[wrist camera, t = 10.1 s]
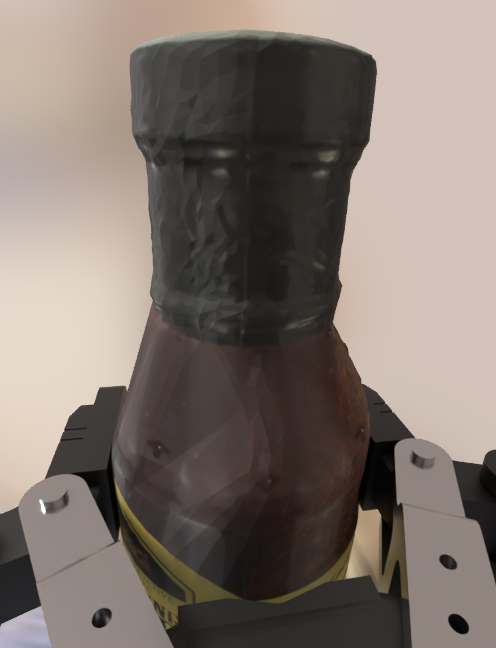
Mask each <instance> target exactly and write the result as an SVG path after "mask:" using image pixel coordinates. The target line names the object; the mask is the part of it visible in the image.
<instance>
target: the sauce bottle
mask: <svg viewBox="0 0 496 648" xmlns="http://www.w3.org/2000/svg"><path fill="white" fill-rule="evenodd" d="M376 75H377V69H376V61H375V60H374V59H373V58H372V55H370V54H368V53H366V52H364V51H361V50H359V49H357V48H355V47H352V46H349V45H346V44H342V43H339V42H336V41H333V40H330V39H325V38H319V37H314V36H309V35H302V34H294V33H285V32H273V31H260V30H230V31H210V32H194V33H187V34H180V35H173V36H166V37H162V38H159V39H155V40H152V41H149V42H146V43H143V44H140V45H137V47H136V48H135V49H134V50H133V51H132V53H131V55H130V78H131V94H132V98H131V115H132V132H133V136H134V139H135V141H136V143H137V145H138V148H139V149H140V150H141V152H142V153H143V155H144V157H145V160H146V167H147V175H148V194H149V215H150V221H151V239H152V252H153V275H152V282H151V289H150V295H151V297H152V299H153V303H152V306H151V309H150V313H149V317H148V320H147V324H146V327H145V331H144V335H143V338H142V342H141V345H140V349H139V352H138V356H137V360H136V363H135V367H134V371H133V374H132V377H131V381H130V385H129V388H128V391H127V394H126V397H125V400H124V403H123V406H122V409H121V412H120V415H119V418H118V421H117V424H116V427H115V430H114V433H113V440H112V447H111V458H110V462H111V470H112V477H113V483H114V489H115V495H116V502H117V508H118V515H119V522H120V529H121V535H122V542H123V546H124V548H125V550H126V552H127V554H128V556H129V558H130V560H131V562H132V564H133V566H134V568H135V570H136V572H137V574H138V576H139V578H140V580H141V582H142V584H143V587H144V589H145V591H146V593H147V595H148V597H149V599H150V601H151V603H152V605H153V607H154V609H155V611H156V613H157V615H158V617H159V619H160V621H161V623H162V625H163V627H164V629H165V630H167V629H169V628H171V627H173V626H175V625H177V624H178V606H182V605H188V604H194V603H200V602H206V601H213V600H219V599H225V598H232V599H241V600H251V601H260V602H269V603H283V602H286V601H288V600H290V599H292V598H294V597H296V596H298V595H300V594H302V593H305V592H307V591H309V590H311V589H313V588H315V587H317V586H319V585H321V584H323V583H325V582H330V581H337V580H343V579H345V578H346V573H347V569H348V564H349V560H350V555H351V550H352V546H353V541H354V536H355V532H356V527H357V522H358V512H359V501H358V492H359V487H360V484H361V479H362V475H363V473H364V469H365V463H366V457H367V452H368V446H369V443H370V442H369V438H370V422H369V419H370V414H369V411H368V403H367V399H366V394H365V391H364V389H363V386H362V384H361V378H360V376H359V374H358V372H357V370H356V368H355V366H354V364H353V361H352V360H351V358H350V357H349V353H348V348H347V346H346V344H345V343H343V341H342V340H341V338H340V336H339V333H338V331H337V329H336V328H335V326H334V324H333V319H334V314H335V310H336V306H337V303H338V300H339V297H340V293H341V288H342V284H341V282H340V280H339V275H338V271H339V264H340V256H341V247H342V243H343V236H344V231H345V222H346V214H347V205H348V196H349V192H350V179H351V176H352V173H353V170H354V168H355V166H356V165H357V163H358V161H359V160H360V158H361V156H362V152H363V150H364V148H365V147H366V145H367V144H368V142H369V138H370V127H371V119H372V111H373V104H374V95H375V85H376Z"/></svg>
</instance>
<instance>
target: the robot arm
mask: <svg viewBox="0 0 496 648" xmlns="http://www.w3.org/2000/svg"><path fill="white" fill-rule="evenodd" d="M362 386H363V389H364V391H365V394H366V399H367V403H368V411H369V414H370V419H369V422H370V438H369V442H370V443H369V446H368V452H367V457H366V463H365V469H364V473H363V475H362V479H361V484H360V487H359V492H358V501H359V505H360V507H361V509H362V511H367V510H375V509H378V511H379V513H380V514H381V517H380V522H379V586H378V591H377V589H376V586H375V584H374V582H373V580H372V578H371V576H370V575H368V576H361V577H355V578H349V579H343V580H337V581H330V582H325V583H323V584H321V585H319V586H317V587H315V588H313V589H311V590H309V591H307V592H305V593H302V594H300V595H298V596H296V597H294V598H292V599H290V600H288V601H286V602H283V603H269V602H260V601H251V600H241V599H232V598H225V599H219V600H213V601H206V602H200V603H194V604H188V605H182V606H178V624H177V625H175V626H173V627H171V628H169V629H167V630H165V629H164V627H163V625H162V623H161V621H160V619H159V617H158V615H157V613H156V611H155V609H154V607H153V605H152V603H151V601H150V599H149V597H148V595H147V593H146V591H145V589H144V587H143V584H142V582H141V580H140V578H139V576H138V574H137V572H136V570H135V568H134V566H133V564H132V562H131V560H130V558H129V556H128V554H127V552H126V550H125V548H124V546H123V545H122V543H121V542H120V540H118V537H119V530H120V522H119V515H118V508H117V502H116V495H115V489H114V483H113V477H112V470H111V462H110V458H111V447H112V440H113V433H114V430H115V427H116V424H117V421H118V418H119V415H120V412H121V409H122V406H123V403H124V400H125V397H126V394H127V390H126V386H114V387H100V388H99V390H98V393H97V396H96V400H95V403H94V405H82V406H80V407H79V408H78V409H77V410H76V411H75V412H74V413H73V414H72V415H71V416H70V417H69V419H68V422H67V424H66V427H65V429H64V430H65V431H64V432H63V434H62V437H61V439H60V443H59V444H58V447H57V449H56V452H55V454H54V457H53V460H52V462H51V465H50V467H49V470H48V472H47V475H46V477H45V479H44V480H42V481H41V482H39V483H37V484H35V485H34V486H33V487H31V488H30V489H29V490H28V491H27V492H26V493H25V495H24V496H23V497H22V499H21V501H20V503H19V506H18V507H16V508H14V509H12V510H10V511H8V512H5V513H3V514H0V626H1V624H2V623H4V622H6V621H9V620H11V619H13V618H15V617H17V616H19V615H22V614H24V613H26V612H28V611H30V610H33V609H35V608H37V607H39V606H42V610H43V614H44V618H45V622H46V626H47V630H48V634H49V638H50V642H51V646H52V648H496V450H492V451H489V452H488V453H487V454H486V455H485V458H484V461H483V464H482V465H481V464H473V463H466V462H459V461H453V460H452V459H451V458H450V456H449V455H448V454H447V453H446V452H445V451H444V450H443V449H442V448H441V447H439V446H437V445H435V444H433V443H431V442H429V441H426V440H422V439H416V438H415V437H414V436H413V435H412V434H411V432H410V431H409V430H408V429H407V428H406V427H405V425H404V424H403V423H402V422H401V421H400V420H399V418H398V417H397V416H396V415H395V414H394V413H392V410H391V409H390V408H389V406H388V405H387V404H385V402H384V400H383V399H382V398H381V397H380V396H379V395H378V393H377V392H375V391H374V390H372V389H371V388H369V387H367V386H366V385H364V384H362Z"/></svg>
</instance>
